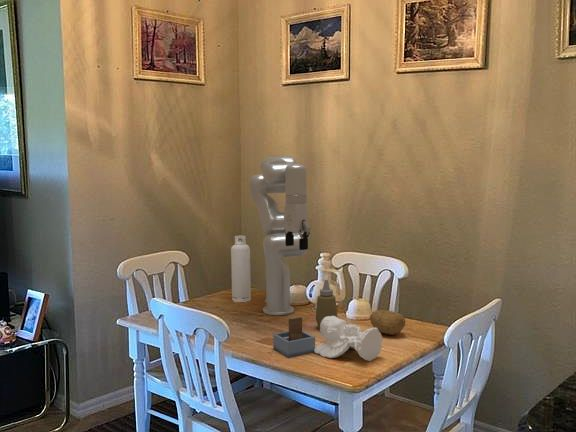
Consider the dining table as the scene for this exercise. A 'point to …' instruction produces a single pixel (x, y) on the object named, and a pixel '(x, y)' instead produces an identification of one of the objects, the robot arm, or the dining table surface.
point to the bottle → (240, 270)
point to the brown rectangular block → (295, 328)
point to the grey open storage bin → (293, 344)
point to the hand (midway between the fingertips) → (296, 247)
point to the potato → (387, 321)
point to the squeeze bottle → (325, 304)
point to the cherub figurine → (348, 339)
